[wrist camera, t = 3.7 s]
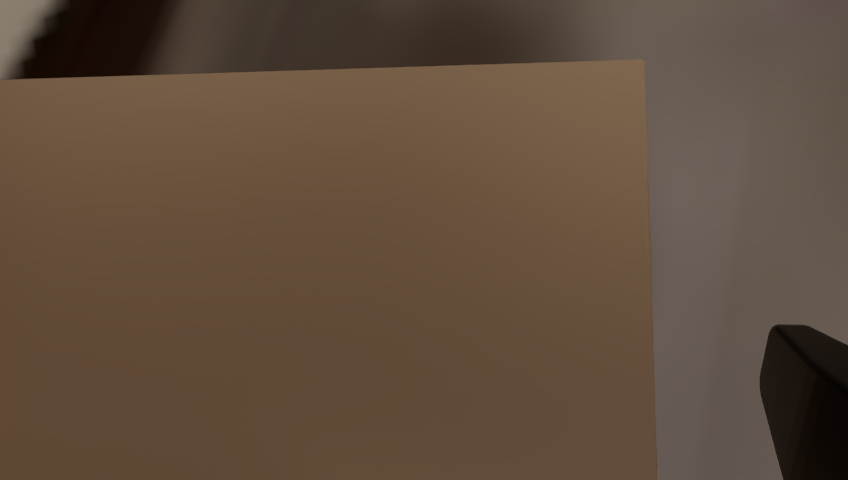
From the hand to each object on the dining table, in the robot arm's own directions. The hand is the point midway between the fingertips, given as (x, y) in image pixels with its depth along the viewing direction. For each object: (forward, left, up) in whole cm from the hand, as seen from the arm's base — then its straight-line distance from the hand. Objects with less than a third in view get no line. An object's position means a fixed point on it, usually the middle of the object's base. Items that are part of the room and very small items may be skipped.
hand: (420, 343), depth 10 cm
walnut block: (-1, 0, -7) cm, 8 cm away
